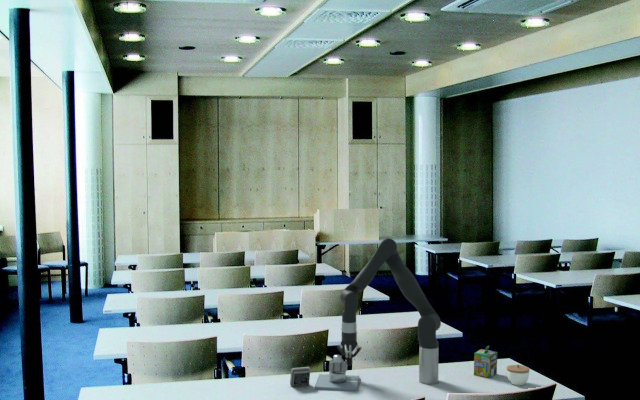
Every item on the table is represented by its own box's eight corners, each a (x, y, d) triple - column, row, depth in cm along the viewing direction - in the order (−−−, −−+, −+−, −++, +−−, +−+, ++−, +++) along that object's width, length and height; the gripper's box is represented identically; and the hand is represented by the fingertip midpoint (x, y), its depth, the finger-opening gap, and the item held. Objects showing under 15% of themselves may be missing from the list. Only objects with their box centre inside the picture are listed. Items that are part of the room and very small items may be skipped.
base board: (359, 378, 356) (359, 359, 355) (356, 391, 336) (356, 371, 336) (319, 376, 358) (319, 357, 358) (314, 389, 338) (314, 369, 338)
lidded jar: (533, 384, 346) (534, 365, 346) (517, 388, 341) (518, 369, 340) (517, 378, 355) (517, 360, 355) (501, 382, 350) (502, 363, 349)
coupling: (331, 367, 358) (332, 358, 359) (348, 367, 357) (348, 359, 358) (328, 371, 342) (328, 362, 343) (345, 371, 341) (346, 363, 342)
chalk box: (480, 370, 369) (480, 342, 368) (497, 374, 364) (497, 345, 363) (473, 375, 361) (473, 346, 361) (490, 378, 356) (490, 349, 355)
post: (346, 378, 351) (346, 353, 350) (345, 383, 343) (345, 358, 342) (330, 378, 351) (330, 353, 351) (328, 383, 344) (328, 357, 343)
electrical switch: (308, 383, 347) (308, 365, 346) (311, 387, 342) (311, 369, 341) (289, 385, 344) (290, 367, 343) (292, 389, 339) (292, 371, 338)
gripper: (364, 330, 356) (364, 364, 357) (339, 327, 361) (339, 361, 362) (359, 333, 349) (359, 368, 350) (334, 331, 354) (334, 365, 355)
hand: (349, 365), depth 356 cm, fingers closed
